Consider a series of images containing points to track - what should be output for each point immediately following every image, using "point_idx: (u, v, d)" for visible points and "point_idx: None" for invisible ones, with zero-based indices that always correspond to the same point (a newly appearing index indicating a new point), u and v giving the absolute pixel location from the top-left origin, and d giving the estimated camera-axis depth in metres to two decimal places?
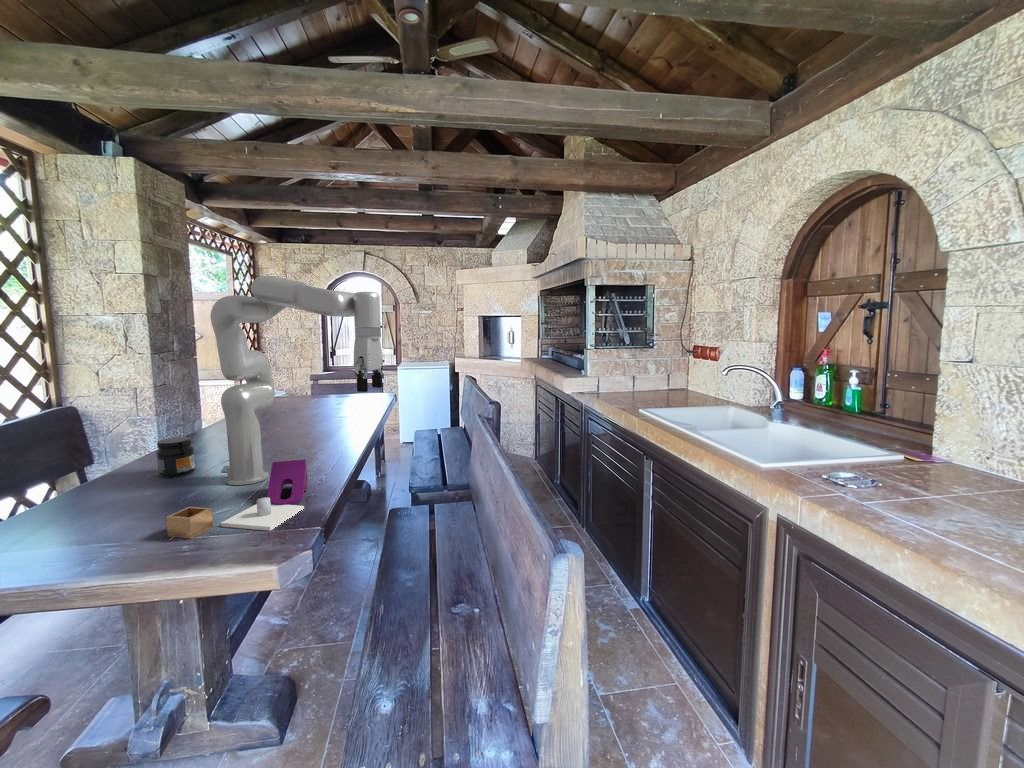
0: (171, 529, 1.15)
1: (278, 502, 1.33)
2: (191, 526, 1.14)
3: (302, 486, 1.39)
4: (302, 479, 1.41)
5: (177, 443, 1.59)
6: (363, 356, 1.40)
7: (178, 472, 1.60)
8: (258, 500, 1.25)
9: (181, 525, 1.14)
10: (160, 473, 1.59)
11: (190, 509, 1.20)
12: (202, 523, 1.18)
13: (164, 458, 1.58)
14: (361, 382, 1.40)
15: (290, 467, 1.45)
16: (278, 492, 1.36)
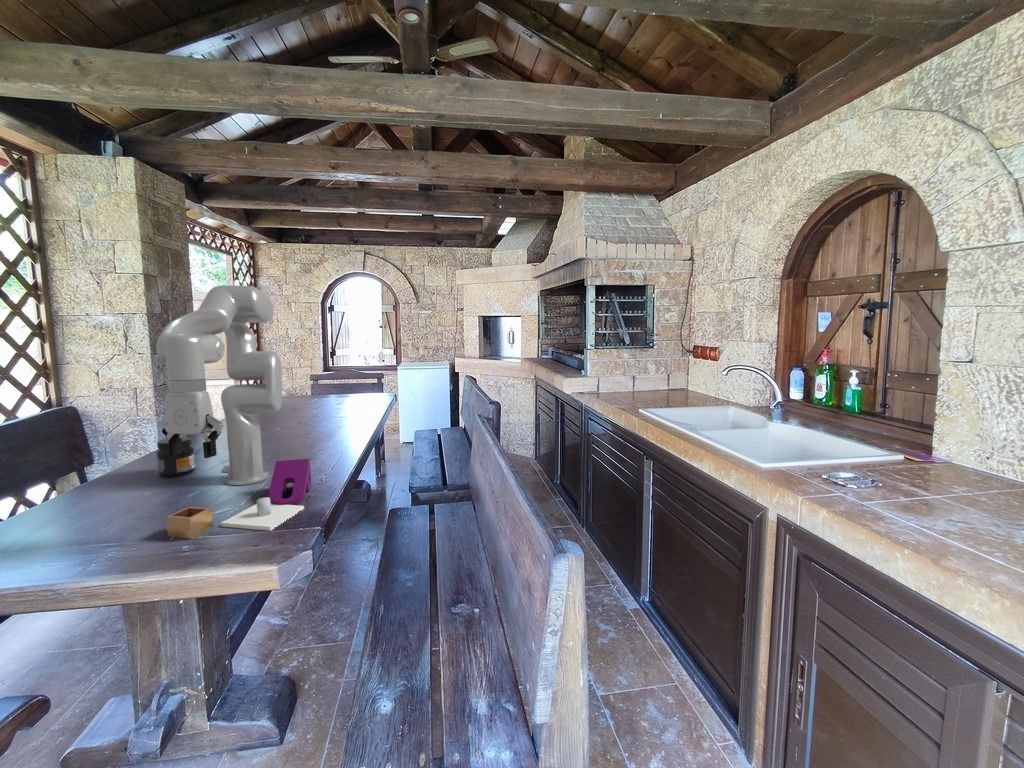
0: (171, 529, 1.15)
1: (279, 501, 1.33)
2: (191, 526, 1.14)
3: (303, 485, 1.39)
4: (304, 478, 1.41)
5: None
6: (210, 413, 1.15)
7: (178, 472, 1.60)
8: (258, 500, 1.25)
9: (181, 525, 1.14)
10: (160, 473, 1.59)
11: (190, 509, 1.20)
12: (202, 523, 1.18)
13: (164, 458, 1.58)
14: (213, 445, 1.16)
15: (293, 466, 1.45)
16: (279, 491, 1.36)
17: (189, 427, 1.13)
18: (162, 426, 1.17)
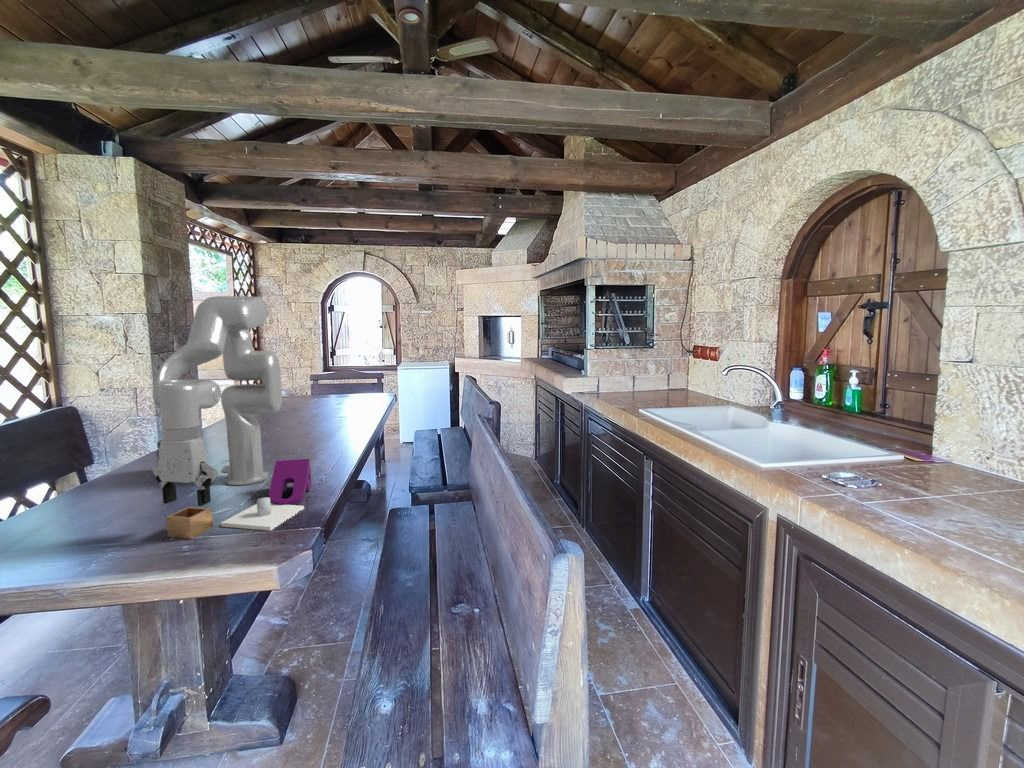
0: (171, 529, 1.15)
1: (279, 501, 1.33)
2: (191, 526, 1.14)
3: (303, 485, 1.39)
4: (304, 478, 1.41)
5: None
6: (204, 461, 1.15)
7: None
8: (258, 500, 1.25)
9: (181, 525, 1.14)
10: None
11: (190, 509, 1.20)
12: (202, 523, 1.18)
13: None
14: (208, 492, 1.16)
15: (293, 466, 1.45)
16: (279, 491, 1.36)
17: (183, 475, 1.13)
18: (156, 473, 1.17)
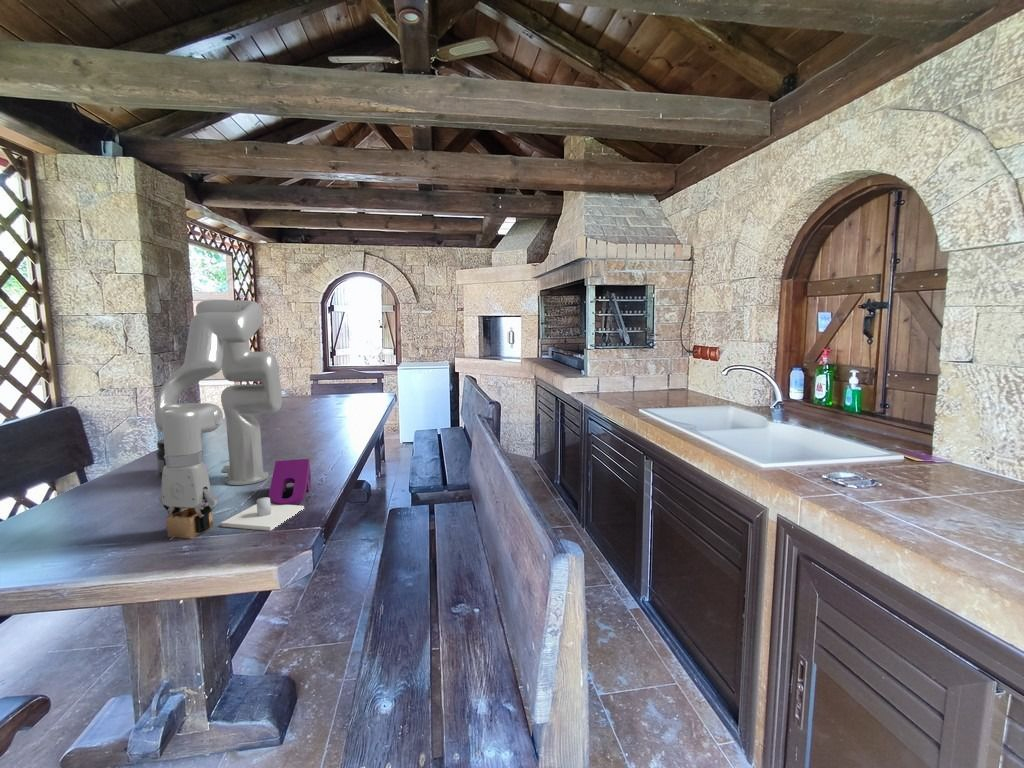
0: (171, 529, 1.15)
1: (279, 501, 1.33)
2: (191, 526, 1.14)
3: (304, 485, 1.39)
4: (304, 478, 1.41)
5: None
6: (207, 487, 1.17)
7: None
8: (258, 500, 1.25)
9: (181, 525, 1.14)
10: (160, 473, 1.59)
11: (190, 509, 1.20)
12: None
13: None
14: (207, 519, 1.17)
15: (293, 466, 1.45)
16: (280, 491, 1.36)
17: (186, 501, 1.14)
18: (163, 501, 1.18)
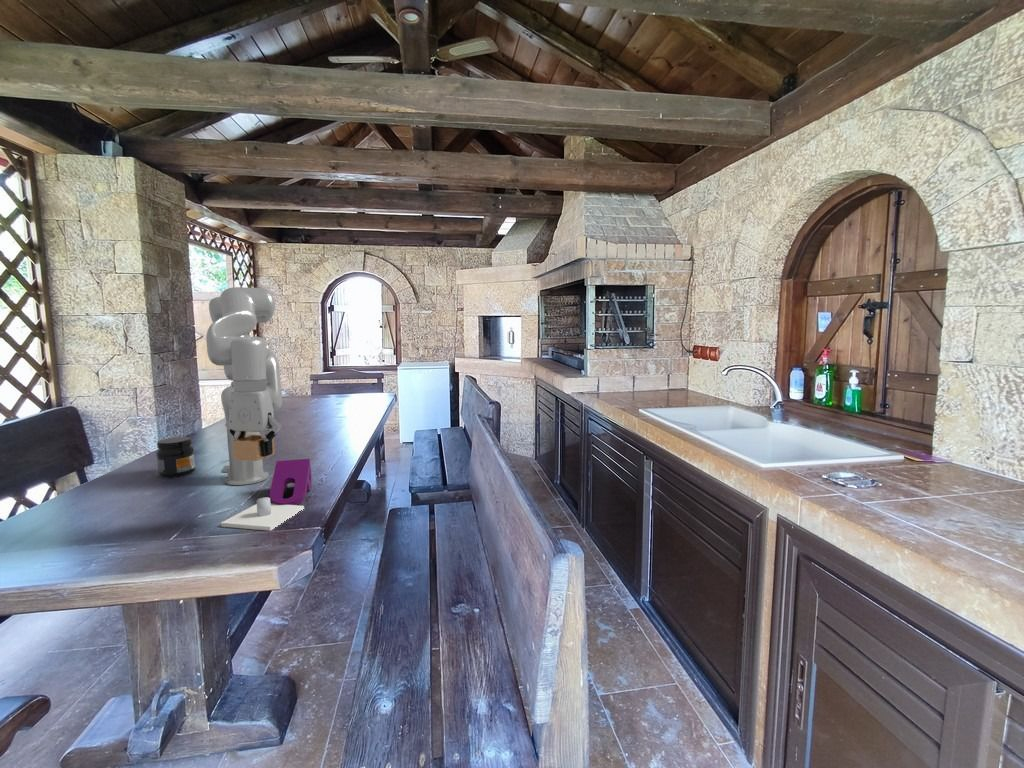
0: (237, 452, 1.21)
1: (280, 501, 1.33)
2: (257, 449, 1.20)
3: (304, 485, 1.39)
4: (305, 478, 1.41)
5: (177, 443, 1.59)
6: (271, 413, 1.22)
7: (178, 472, 1.60)
8: (258, 500, 1.25)
9: (247, 448, 1.20)
10: (160, 473, 1.59)
11: (253, 436, 1.26)
12: None
13: (164, 458, 1.58)
14: (270, 444, 1.23)
15: (293, 466, 1.45)
16: (280, 491, 1.36)
17: (253, 425, 1.20)
18: (229, 427, 1.24)
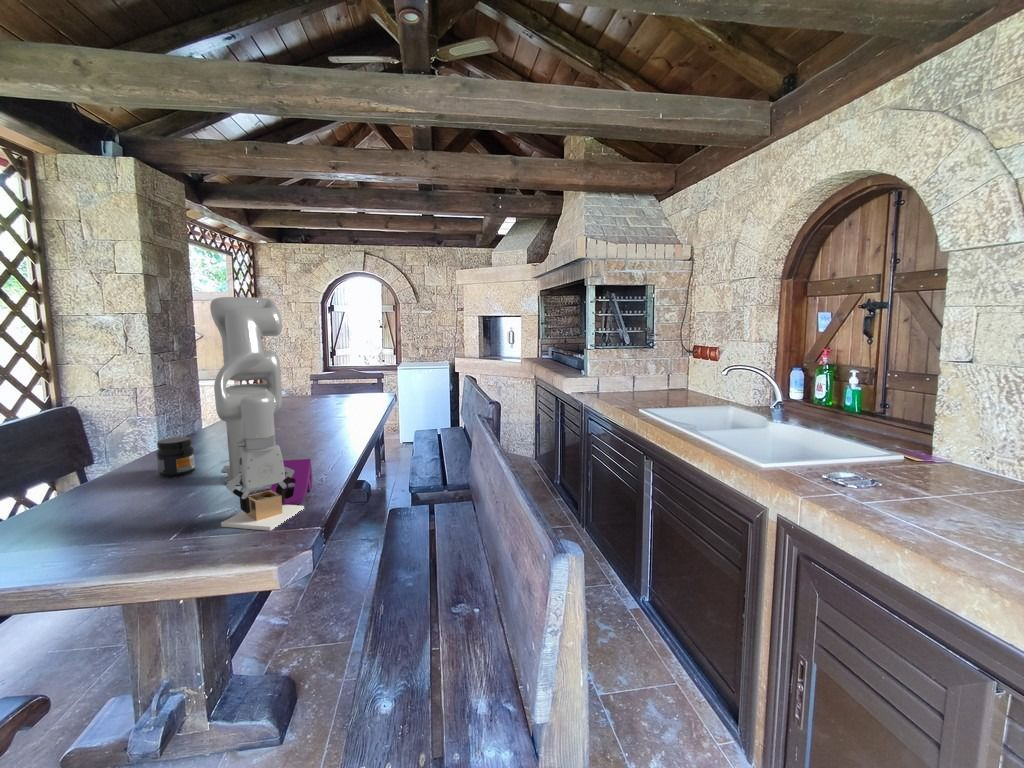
0: (260, 512, 1.23)
1: None
2: None
3: (304, 486, 1.39)
4: (305, 478, 1.41)
5: (177, 443, 1.59)
6: None
7: (178, 472, 1.60)
8: None
9: (272, 504, 1.25)
10: (160, 473, 1.59)
11: (250, 497, 1.26)
12: None
13: (164, 458, 1.58)
14: None
15: (294, 466, 1.45)
16: None
17: (275, 477, 1.25)
18: (233, 488, 1.20)
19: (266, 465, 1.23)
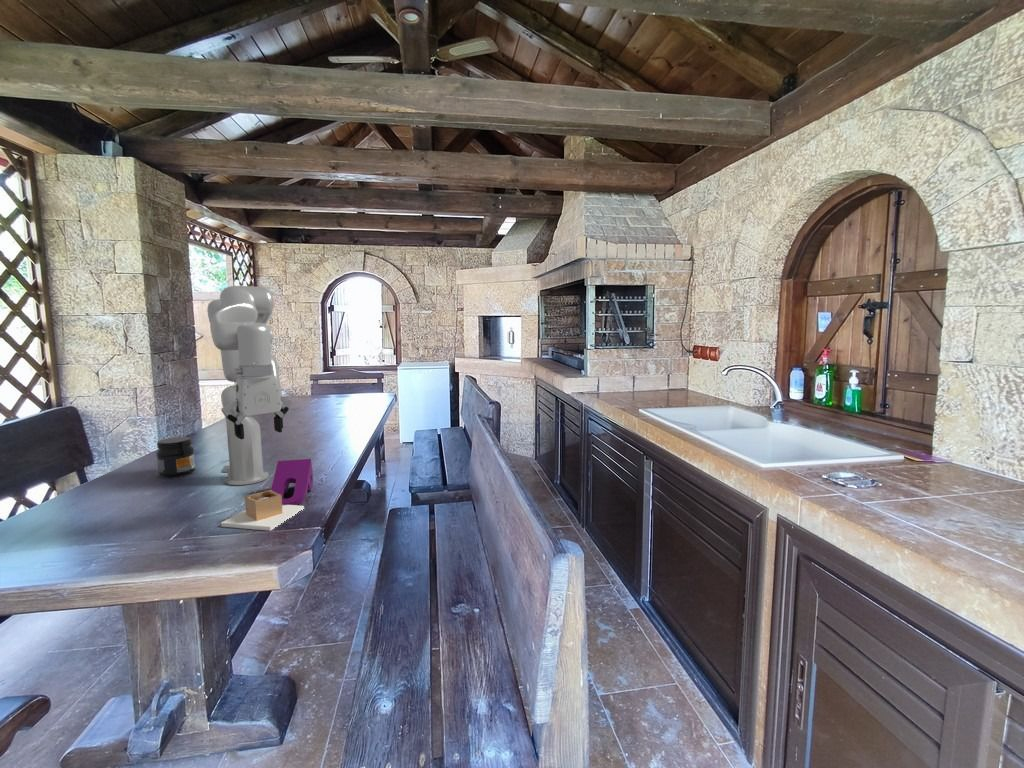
0: (260, 512, 1.23)
1: None
2: None
3: (305, 486, 1.39)
4: (305, 479, 1.41)
5: (177, 443, 1.59)
6: None
7: (178, 472, 1.60)
8: None
9: (272, 504, 1.25)
10: (160, 473, 1.59)
11: (250, 497, 1.26)
12: None
13: (164, 458, 1.58)
14: None
15: (295, 466, 1.45)
16: (281, 491, 1.36)
17: (271, 406, 1.26)
18: (227, 413, 1.21)
19: (262, 393, 1.24)
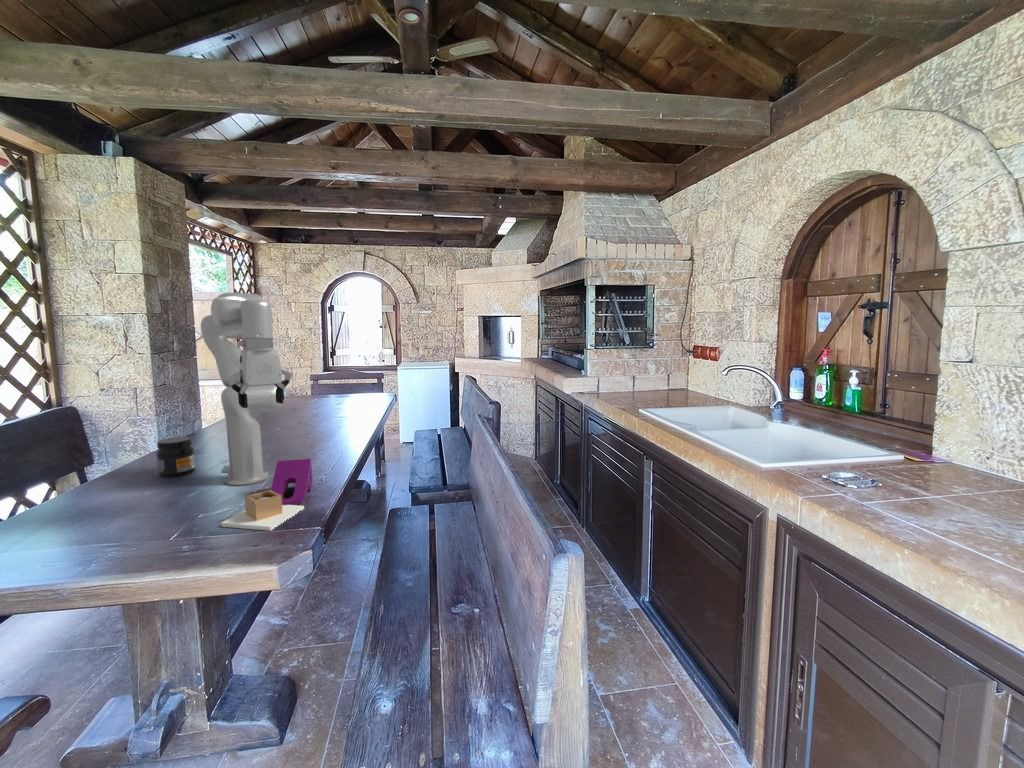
0: (260, 512, 1.23)
1: None
2: None
3: (305, 486, 1.39)
4: (305, 478, 1.41)
5: (177, 443, 1.59)
6: None
7: (178, 472, 1.60)
8: None
9: (272, 504, 1.25)
10: (160, 473, 1.59)
11: (250, 497, 1.26)
12: None
13: (164, 458, 1.58)
14: None
15: (294, 466, 1.45)
16: (281, 491, 1.36)
17: (273, 377, 1.34)
18: (232, 382, 1.28)
19: (264, 365, 1.32)
